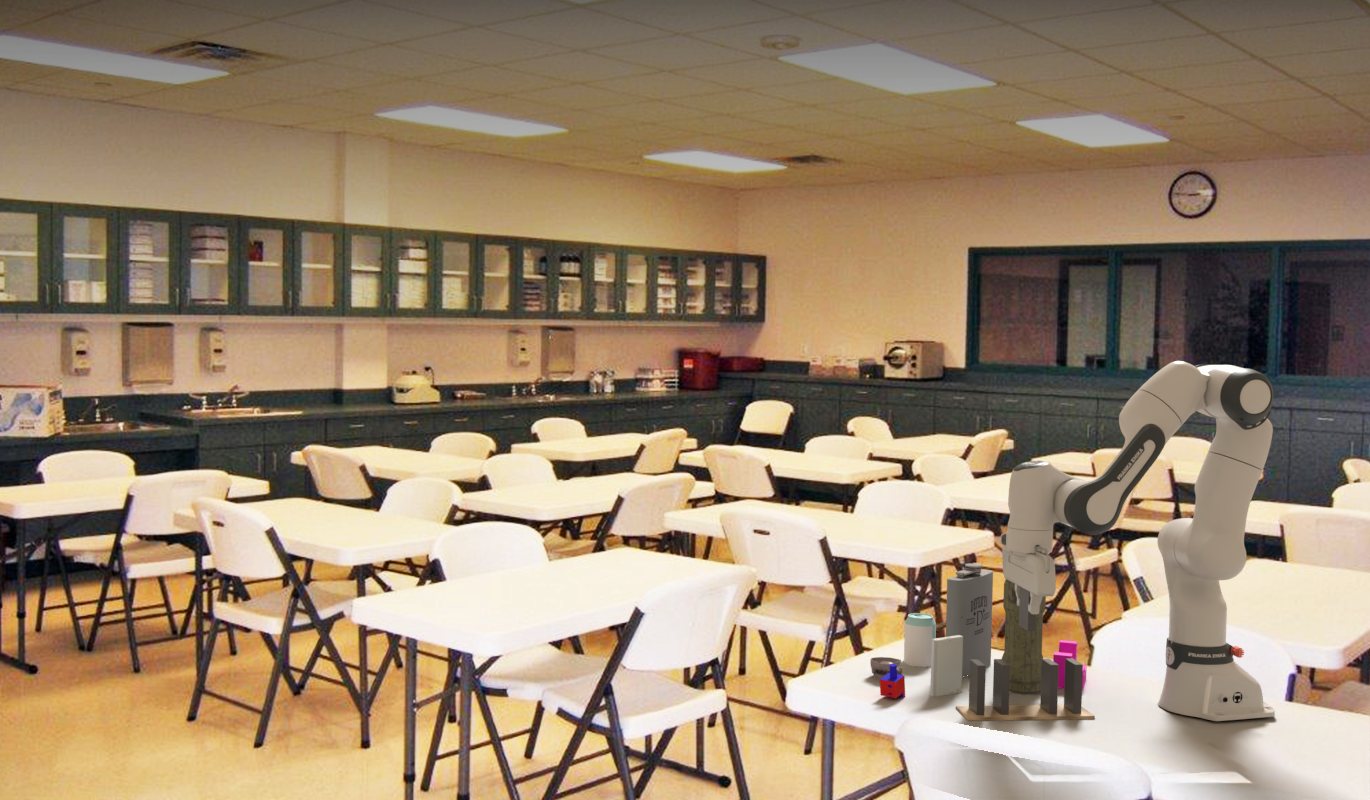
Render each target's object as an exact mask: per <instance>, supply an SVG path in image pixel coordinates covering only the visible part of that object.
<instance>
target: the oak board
mask: <svg viewBox="0 0 1370 800" xmlns="http://www.w3.org/2000/svg"><path fill="white" fill-rule="evenodd" d="M955 709H956V710H957V711H958V712H959V713H960V714H961V715H962V716H963V717H964V718H965V719H966V721H1020V720H1021V721H1027V720H1029V721H1030V720H1036V721H1037V720H1041V721H1042V720H1095V719H1096V716H1095V714H1093V713H1091V712H1090V711H1089V710H1087V709H1086V708H1085V707H1083V706H1082V705H1081V714H1073V713H1072V712H1070V711H1069V710H1067V709H1066V708H1065V707H1064V704H1057V714H1048V713H1047V712H1046V711H1045V710H1043V709H1042V708H1041V707H1040V704H1027V705H1025V704H1022V705H1019V704H1018V705H1017V704H1016V705H1013V704H1012V705H1010V704H1009V715H1000V714H999V713H998V712H997V711H996V710H995V709H993V705H985V711H984V715H976V714H975V713H974V712H972V711H971V710H970V709H969V705H955Z"/></svg>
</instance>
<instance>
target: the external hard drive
mask: <svg viewBox="0 0 1370 800" xmlns="http://www.w3.org/2000/svg"><path fill="white" fill-rule="evenodd" d="M962 662H963V636H961V635H956V636H949V637H946V636H944V637H938V638H937V637H936V639H932V654H931V666H930V685H929V686H930V691H929V695H930V696H931V697H933V698H936V697H938V698H939V697H942V696H949V695H953V694H958V693H959V692H960V693H962V690H963V688H962V687H963V686H962V685H963V677H962Z"/></svg>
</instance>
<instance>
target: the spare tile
mask: <svg viewBox="0 0 1370 800" xmlns="http://www.w3.org/2000/svg"><path fill="white" fill-rule="evenodd" d="M1030 600H1031V597H1030V592H1029V591H1027V590H1026V589H1024V588H1022V587H1020V605H1019V626H1020V627H1022V628H1024V629H1025V630H1027V631H1036V614H1031V613H1029V612H1028V604H1030Z"/></svg>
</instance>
